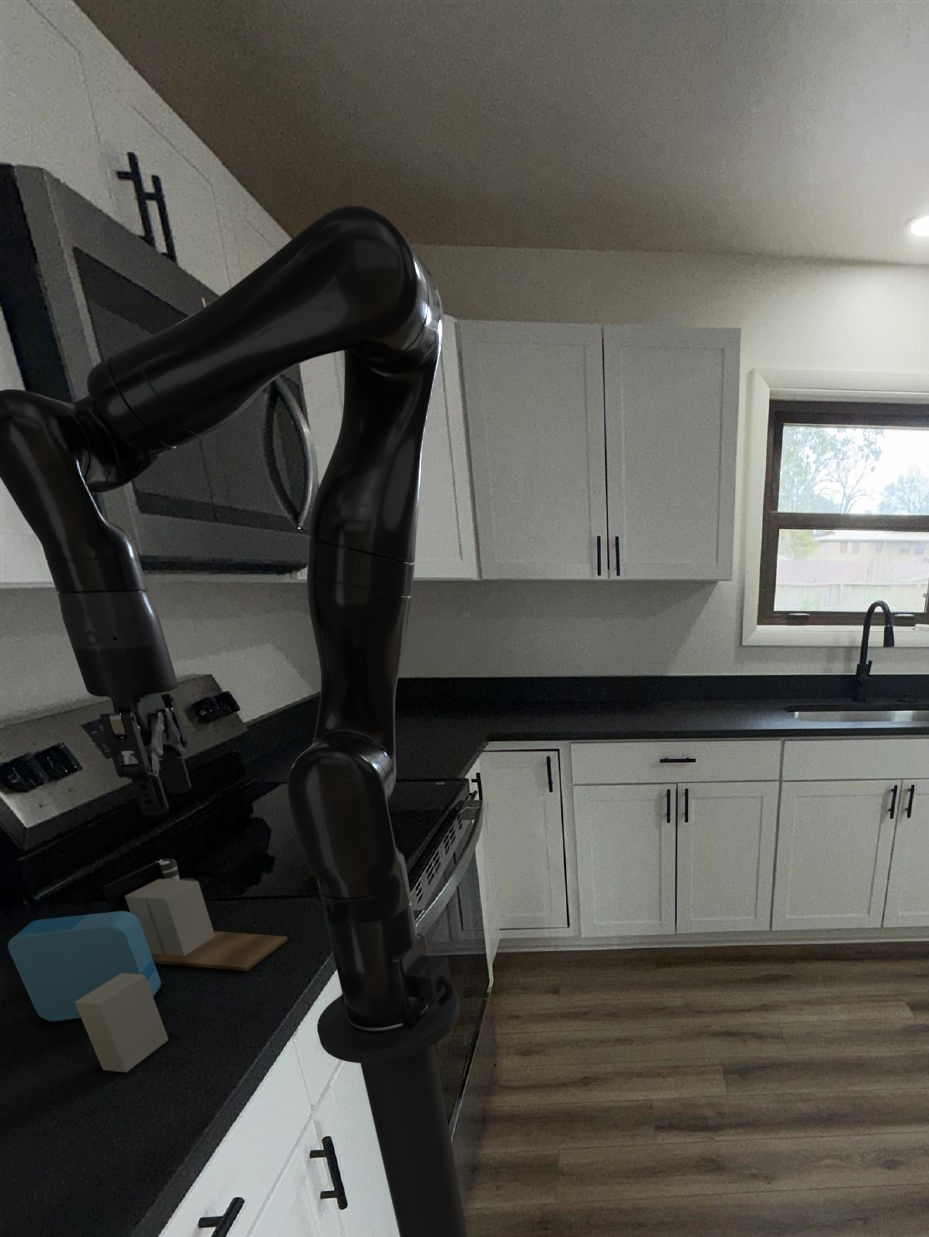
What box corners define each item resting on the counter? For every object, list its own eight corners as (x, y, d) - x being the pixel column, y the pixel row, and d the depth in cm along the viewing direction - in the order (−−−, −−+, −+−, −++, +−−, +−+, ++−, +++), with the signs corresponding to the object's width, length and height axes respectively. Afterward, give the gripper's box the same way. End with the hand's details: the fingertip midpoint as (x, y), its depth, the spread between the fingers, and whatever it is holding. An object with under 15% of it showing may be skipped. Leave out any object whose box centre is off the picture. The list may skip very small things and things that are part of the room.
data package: (164, 990, 94) (136, 908, 89) (152, 1009, 90) (121, 924, 85) (58, 1004, 91) (22, 920, 86) (40, 1024, 87) (2, 937, 82)
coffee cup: (173, 905, 117) (164, 877, 115) (113, 899, 119) (103, 871, 117) (228, 876, 128) (220, 850, 126) (171, 871, 130) (163, 846, 128)
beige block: (168, 1039, 84) (145, 974, 80) (126, 1072, 78) (98, 1004, 75) (146, 1037, 84) (121, 972, 81) (102, 1070, 79) (74, 1002, 75)
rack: (288, 939, 106) (269, 868, 101) (246, 971, 98) (224, 895, 93) (177, 931, 109) (154, 861, 104) (128, 961, 101) (101, 886, 96)
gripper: (140, 646, 64) (191, 818, 71) (184, 635, 76) (224, 782, 83) (40, 650, 62) (103, 827, 68) (102, 638, 74) (150, 788, 81)
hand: (169, 802), depth 76 cm, fingers open, 8 cm apart
